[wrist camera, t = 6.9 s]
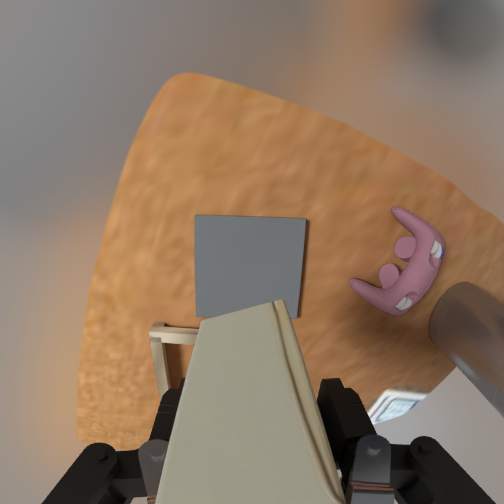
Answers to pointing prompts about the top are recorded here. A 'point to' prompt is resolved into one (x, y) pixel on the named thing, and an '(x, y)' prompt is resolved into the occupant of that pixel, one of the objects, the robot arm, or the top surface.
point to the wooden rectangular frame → (158, 340)
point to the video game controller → (406, 267)
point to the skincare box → (249, 419)
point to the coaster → (247, 262)
